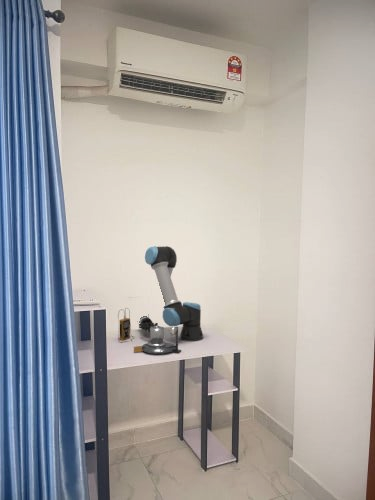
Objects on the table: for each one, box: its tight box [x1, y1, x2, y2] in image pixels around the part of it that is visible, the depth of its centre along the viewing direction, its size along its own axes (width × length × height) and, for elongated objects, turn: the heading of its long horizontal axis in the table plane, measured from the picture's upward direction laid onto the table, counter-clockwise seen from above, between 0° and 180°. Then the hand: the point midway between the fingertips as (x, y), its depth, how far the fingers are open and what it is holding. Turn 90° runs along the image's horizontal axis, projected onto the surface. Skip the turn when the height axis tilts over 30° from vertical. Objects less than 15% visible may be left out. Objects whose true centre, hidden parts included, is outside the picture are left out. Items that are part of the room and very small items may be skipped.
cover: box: [147, 325, 167, 347], centre depth 219 cm, size 11×11×11 cm
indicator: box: [167, 326, 182, 354], centre depth 211 cm, size 7×5×14 cm
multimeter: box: [117, 307, 135, 343], centre depth 235 cm, size 15×10×20 cm
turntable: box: [133, 341, 176, 355], centre depth 214 cm, size 24×20×2 cm
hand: (153, 331), depth 226 cm, fingers closed
